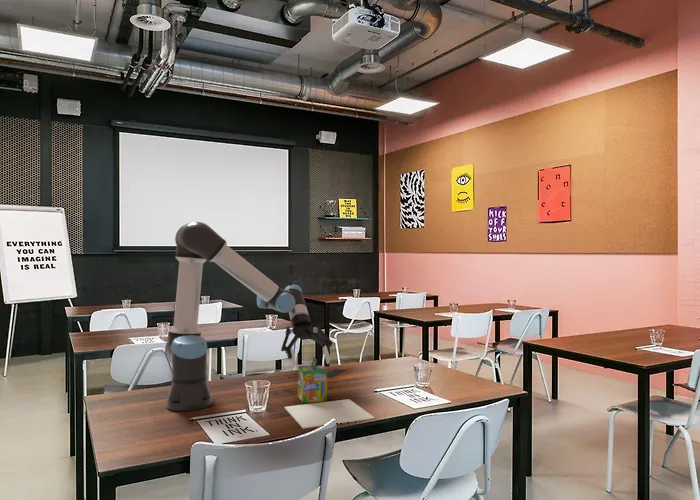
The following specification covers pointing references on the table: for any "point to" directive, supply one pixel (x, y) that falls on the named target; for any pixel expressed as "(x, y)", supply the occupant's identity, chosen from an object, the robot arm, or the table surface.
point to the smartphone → (335, 373)
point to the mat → (327, 413)
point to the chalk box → (312, 383)
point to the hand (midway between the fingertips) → (311, 363)
